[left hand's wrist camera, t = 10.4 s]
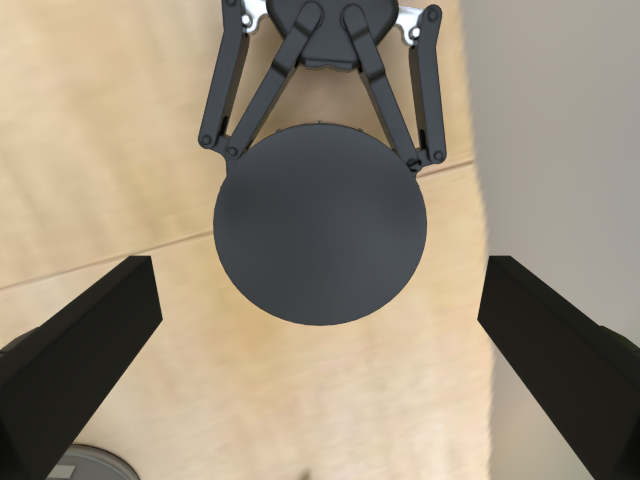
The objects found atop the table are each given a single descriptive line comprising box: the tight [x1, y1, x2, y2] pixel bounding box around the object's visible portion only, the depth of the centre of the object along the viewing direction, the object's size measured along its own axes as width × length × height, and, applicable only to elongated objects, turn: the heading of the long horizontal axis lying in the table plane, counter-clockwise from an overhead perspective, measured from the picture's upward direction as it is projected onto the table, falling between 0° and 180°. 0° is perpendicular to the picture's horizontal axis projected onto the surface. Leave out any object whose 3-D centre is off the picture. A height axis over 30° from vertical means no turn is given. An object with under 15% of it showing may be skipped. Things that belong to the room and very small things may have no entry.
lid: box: [213, 121, 427, 326], centre depth 19 cm, size 11×11×2 cm
